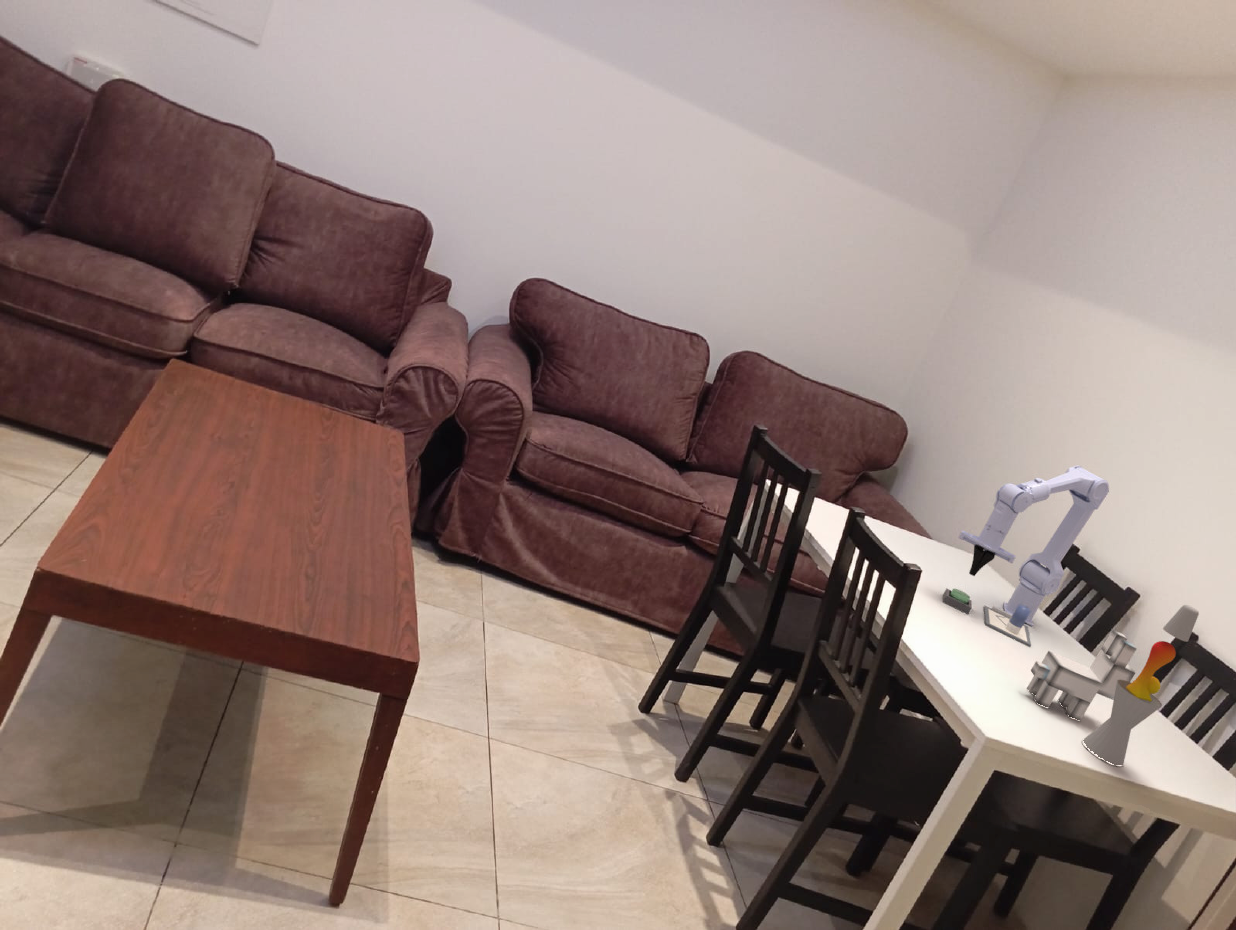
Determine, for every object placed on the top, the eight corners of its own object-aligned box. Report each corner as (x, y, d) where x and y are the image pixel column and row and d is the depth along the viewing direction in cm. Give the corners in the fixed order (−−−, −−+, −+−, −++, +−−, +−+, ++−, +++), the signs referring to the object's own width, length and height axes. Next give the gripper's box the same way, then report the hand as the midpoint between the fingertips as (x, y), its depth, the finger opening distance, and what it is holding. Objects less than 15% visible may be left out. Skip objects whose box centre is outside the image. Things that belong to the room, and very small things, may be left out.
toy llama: (1016, 684, 229) (1060, 608, 224) (1088, 713, 230) (1133, 638, 224) (1026, 700, 222) (1072, 622, 217) (1100, 730, 222) (1147, 653, 217)
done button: (949, 593, 271) (952, 586, 271) (966, 601, 270) (970, 595, 270) (949, 598, 267) (952, 591, 266) (966, 606, 266) (970, 600, 265)
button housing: (943, 594, 273) (946, 588, 273) (968, 606, 272) (971, 600, 271) (942, 602, 267) (946, 595, 266) (968, 614, 265) (971, 607, 264)
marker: (1005, 625, 266) (1018, 602, 264) (1017, 631, 265) (1030, 608, 263) (1005, 629, 263) (1019, 606, 261) (1018, 635, 262) (1031, 612, 260)
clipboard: (983, 607, 277) (986, 602, 277) (1026, 627, 275) (1029, 622, 274) (984, 625, 262) (987, 619, 262) (1030, 647, 260) (1033, 641, 259)
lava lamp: (1100, 763, 204) (1192, 614, 195) (1071, 735, 212) (1158, 591, 203) (1133, 770, 208) (1225, 624, 198) (1103, 743, 216) (1190, 601, 206)
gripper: (969, 519, 261) (945, 565, 264) (1024, 544, 258) (999, 591, 261) (969, 513, 267) (945, 558, 271) (1023, 538, 264) (998, 583, 268)
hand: (971, 574), depth 267 cm, fingers closed
